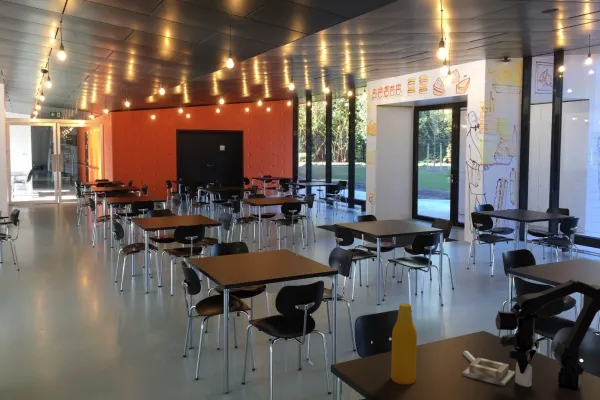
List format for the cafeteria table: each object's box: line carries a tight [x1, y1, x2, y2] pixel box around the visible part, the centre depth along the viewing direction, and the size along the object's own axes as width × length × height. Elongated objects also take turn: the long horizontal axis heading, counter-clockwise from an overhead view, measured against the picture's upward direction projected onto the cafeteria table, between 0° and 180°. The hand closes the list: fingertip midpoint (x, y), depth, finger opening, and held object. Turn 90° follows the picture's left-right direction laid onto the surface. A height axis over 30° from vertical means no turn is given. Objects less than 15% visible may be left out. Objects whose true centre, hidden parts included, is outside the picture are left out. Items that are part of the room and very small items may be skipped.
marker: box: [462, 350, 476, 364], centre depth 222 cm, size 3×2×16 cm
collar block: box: [461, 357, 516, 387], centre depth 206 cm, size 16×14×4 cm
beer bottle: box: [390, 302, 418, 386], centre depth 200 cm, size 9×9×29 cm
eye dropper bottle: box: [514, 361, 533, 388], centre depth 197 cm, size 4×6×12 cm
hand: (523, 371), depth 197 cm, fingers open, 5 cm apart
